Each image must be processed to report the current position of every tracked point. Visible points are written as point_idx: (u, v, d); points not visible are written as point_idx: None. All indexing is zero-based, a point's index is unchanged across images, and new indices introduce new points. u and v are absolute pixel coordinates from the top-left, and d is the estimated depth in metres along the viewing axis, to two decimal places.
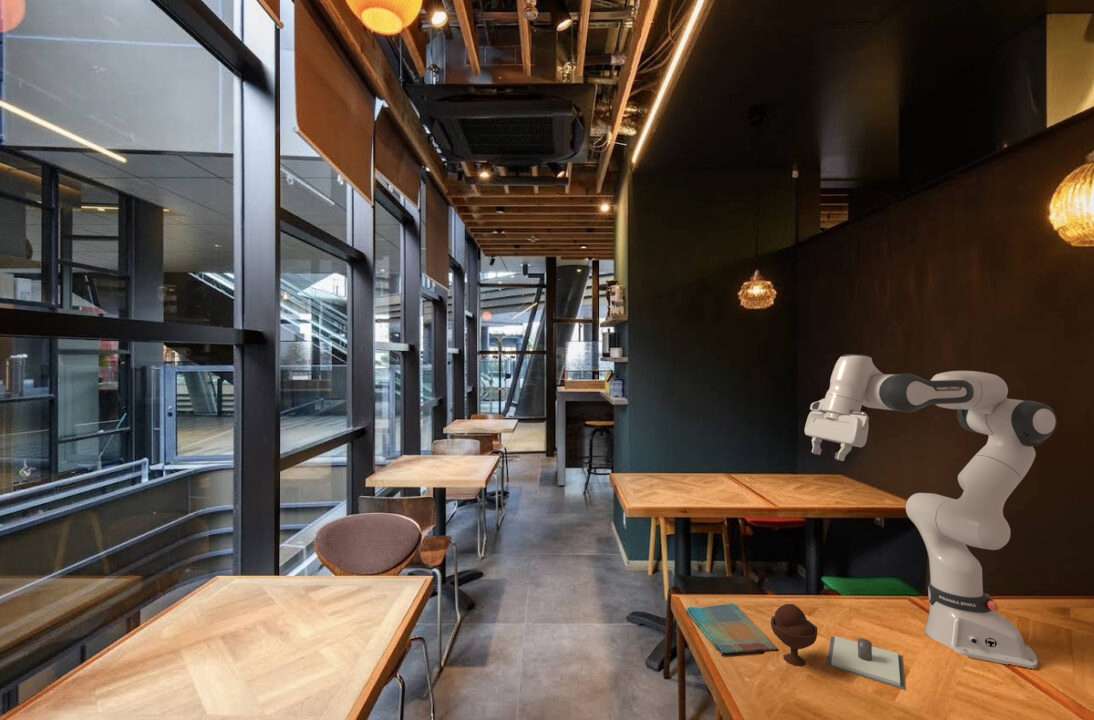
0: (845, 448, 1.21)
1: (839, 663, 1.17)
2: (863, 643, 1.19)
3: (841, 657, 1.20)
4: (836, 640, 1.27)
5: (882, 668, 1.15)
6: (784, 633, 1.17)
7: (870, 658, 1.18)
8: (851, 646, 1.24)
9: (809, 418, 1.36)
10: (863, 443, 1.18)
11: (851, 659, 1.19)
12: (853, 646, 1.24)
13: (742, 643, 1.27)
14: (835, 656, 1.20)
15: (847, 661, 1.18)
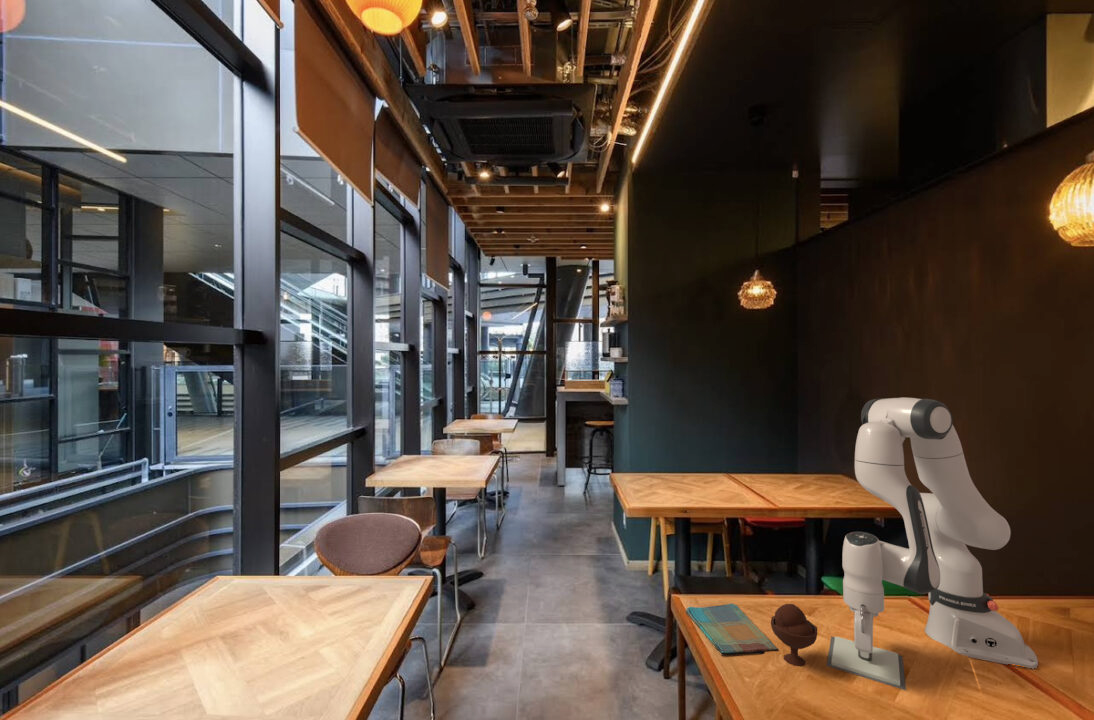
0: None
1: (839, 663, 1.17)
2: None
3: (841, 657, 1.20)
4: (836, 640, 1.27)
5: (882, 668, 1.15)
6: (784, 633, 1.17)
7: (870, 658, 1.18)
8: (851, 646, 1.24)
9: None
10: (868, 649, 1.11)
11: (851, 659, 1.19)
12: (853, 646, 1.24)
13: (742, 643, 1.27)
14: (835, 656, 1.20)
15: (847, 661, 1.18)
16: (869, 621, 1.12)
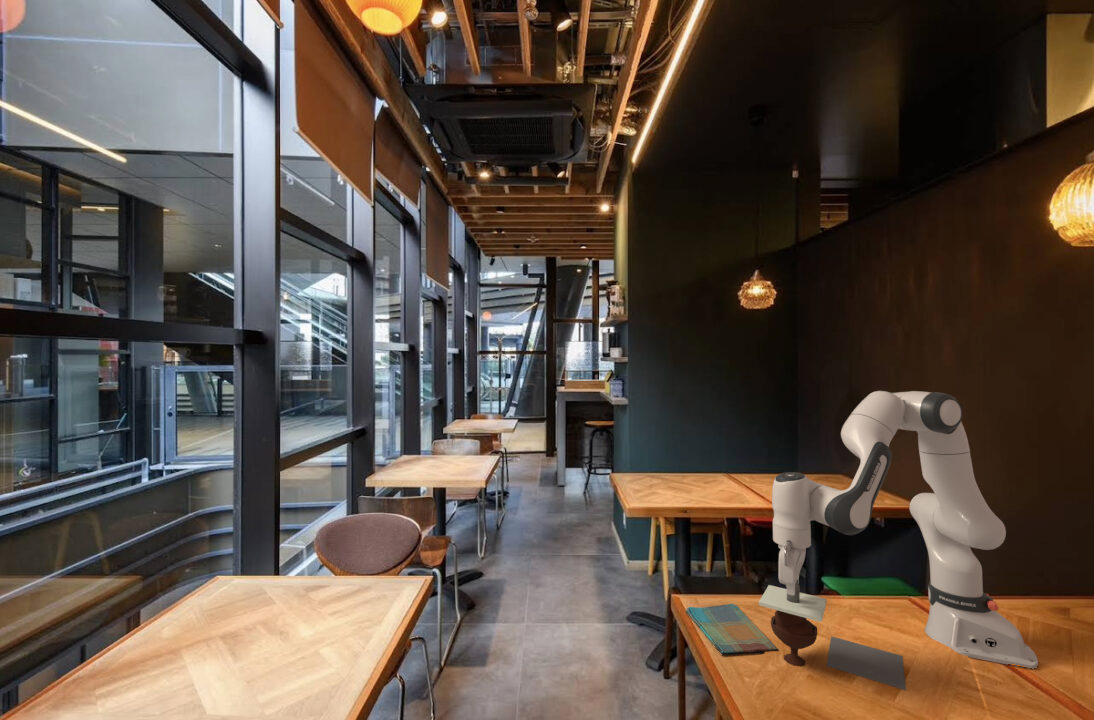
0: None
1: (766, 603, 1.18)
2: None
3: (769, 599, 1.20)
4: (769, 587, 1.28)
5: (807, 608, 1.16)
6: (784, 633, 1.17)
7: (797, 600, 1.19)
8: (782, 592, 1.25)
9: None
10: (791, 582, 1.12)
11: (779, 601, 1.20)
12: (784, 592, 1.25)
13: (742, 643, 1.27)
14: (764, 598, 1.21)
15: (774, 602, 1.19)
16: (792, 555, 1.13)
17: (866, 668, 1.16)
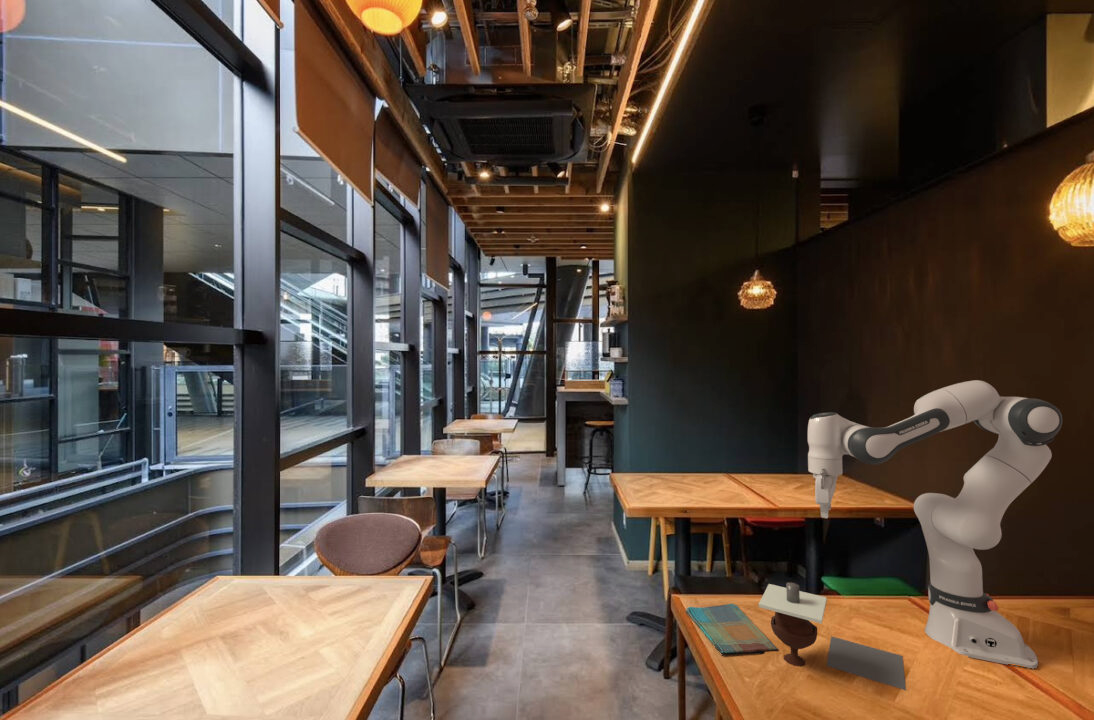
0: (822, 506, 1.33)
1: (766, 605, 1.18)
2: (791, 586, 1.20)
3: (769, 600, 1.20)
4: (769, 587, 1.28)
5: (807, 609, 1.16)
6: (784, 633, 1.17)
7: (797, 600, 1.19)
8: (782, 591, 1.25)
9: None
10: (826, 502, 1.29)
11: (779, 602, 1.20)
12: (784, 591, 1.25)
13: (742, 643, 1.27)
14: (764, 599, 1.21)
15: (774, 603, 1.19)
16: (828, 479, 1.31)
17: (866, 668, 1.16)
